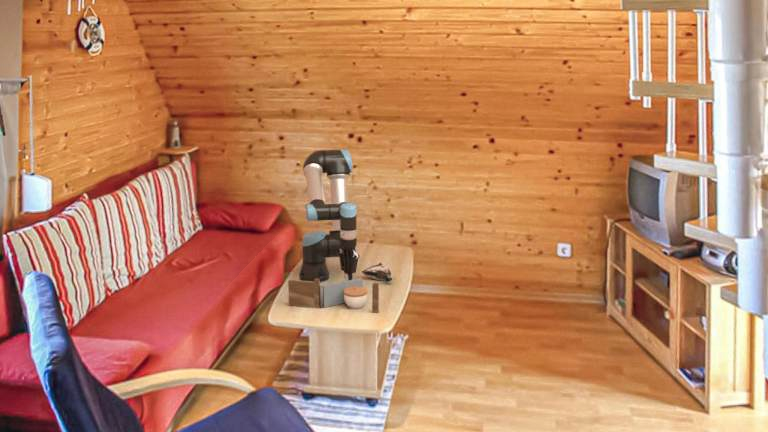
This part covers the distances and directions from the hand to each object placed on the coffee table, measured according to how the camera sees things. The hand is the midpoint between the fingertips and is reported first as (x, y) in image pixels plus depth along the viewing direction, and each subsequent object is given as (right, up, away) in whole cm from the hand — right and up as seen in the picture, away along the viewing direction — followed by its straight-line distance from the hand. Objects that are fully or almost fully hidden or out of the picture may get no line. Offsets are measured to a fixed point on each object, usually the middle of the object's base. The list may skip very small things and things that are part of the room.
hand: (348, 286), depth 328 cm
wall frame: (-6, -9, -10) cm, 15 cm away
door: (-3, -7, -4) cm, 9 cm away
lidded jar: (+3, -9, -7) cm, 12 cm away
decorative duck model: (+13, 0, +25) cm, 28 cm away
